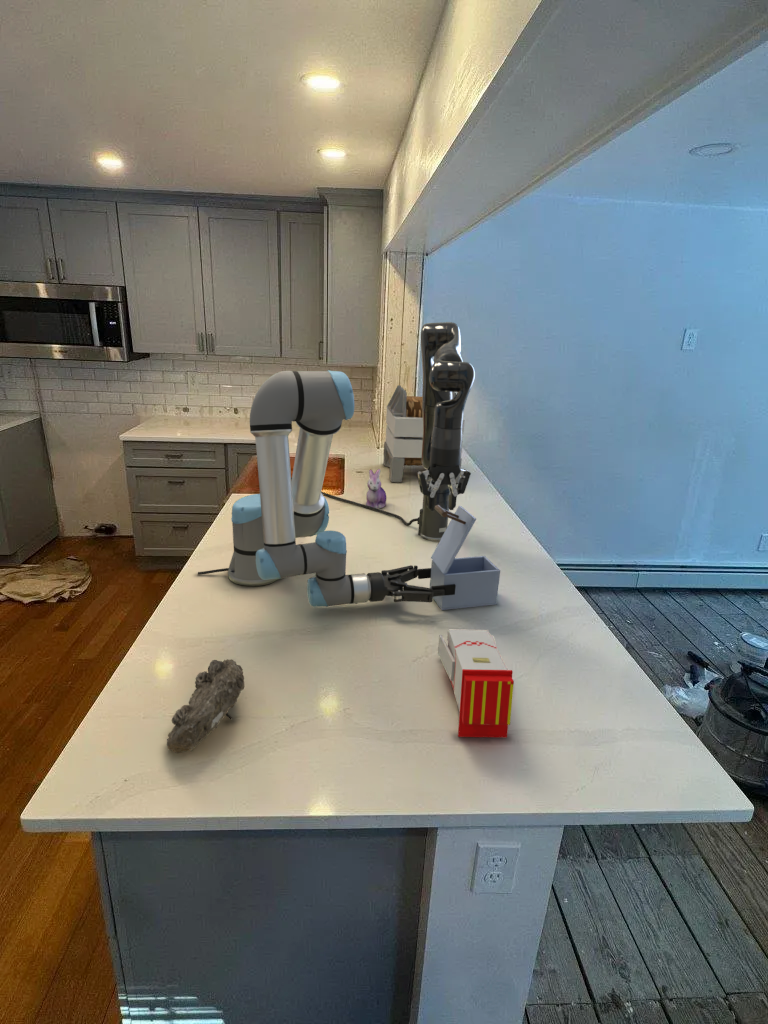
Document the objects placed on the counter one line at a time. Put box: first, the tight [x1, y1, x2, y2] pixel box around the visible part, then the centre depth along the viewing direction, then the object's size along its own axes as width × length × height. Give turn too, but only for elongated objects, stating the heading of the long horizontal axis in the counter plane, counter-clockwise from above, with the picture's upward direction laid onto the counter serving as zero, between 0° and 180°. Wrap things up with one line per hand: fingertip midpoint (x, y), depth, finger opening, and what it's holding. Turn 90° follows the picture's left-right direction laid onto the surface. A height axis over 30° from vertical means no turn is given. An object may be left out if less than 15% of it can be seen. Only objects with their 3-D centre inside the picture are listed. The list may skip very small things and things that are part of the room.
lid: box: [430, 505, 477, 574], centre depth 148 cm, size 16×10×8 cm
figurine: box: [365, 468, 387, 509], centre depth 224 cm, size 9×10×15 cm
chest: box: [429, 555, 501, 611], centre depth 155 cm, size 16×10×10 cm, turn 106°
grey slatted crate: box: [383, 384, 465, 484], centre depth 268 cm, size 34×33×41 cm
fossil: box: [166, 658, 245, 754], centre depth 106 cm, size 22×10×15 cm
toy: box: [437, 628, 515, 738], centre depth 117 cm, size 12×13×30 cm
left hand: (447, 580), depth 154 cm, fingers closed on chest, 10 cm apart
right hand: (441, 509), depth 146 cm, fingers open, 4 cm apart
